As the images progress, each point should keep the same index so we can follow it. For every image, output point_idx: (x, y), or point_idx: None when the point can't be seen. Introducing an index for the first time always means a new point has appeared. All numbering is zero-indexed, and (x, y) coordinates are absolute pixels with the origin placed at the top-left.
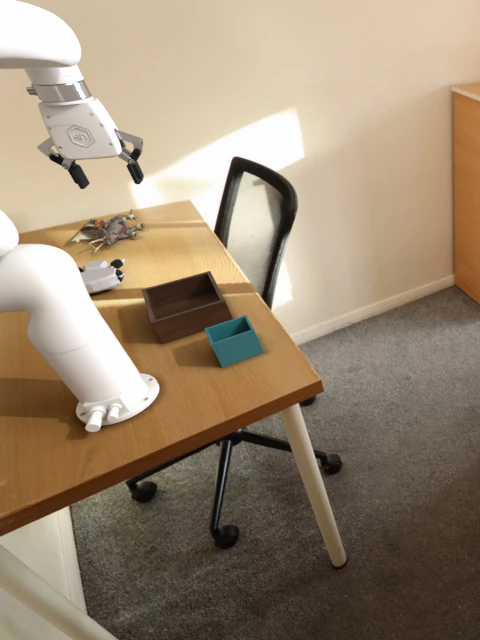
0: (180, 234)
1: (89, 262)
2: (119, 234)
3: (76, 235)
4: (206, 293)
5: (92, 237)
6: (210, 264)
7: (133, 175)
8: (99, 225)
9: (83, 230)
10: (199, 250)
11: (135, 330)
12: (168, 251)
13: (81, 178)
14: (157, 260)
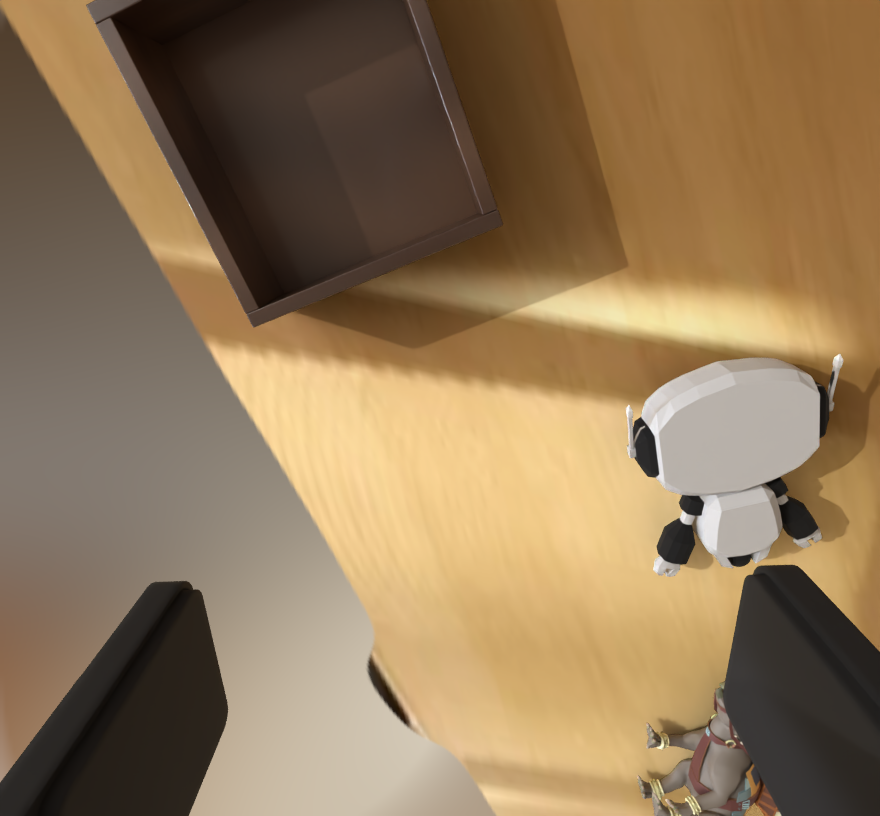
0: (519, 725)
1: (763, 545)
2: (704, 738)
3: None
4: (312, 279)
5: None
6: (365, 506)
7: (106, 662)
8: None
9: None
10: (429, 610)
11: (524, 71)
12: (533, 625)
13: (800, 695)
14: (557, 574)
